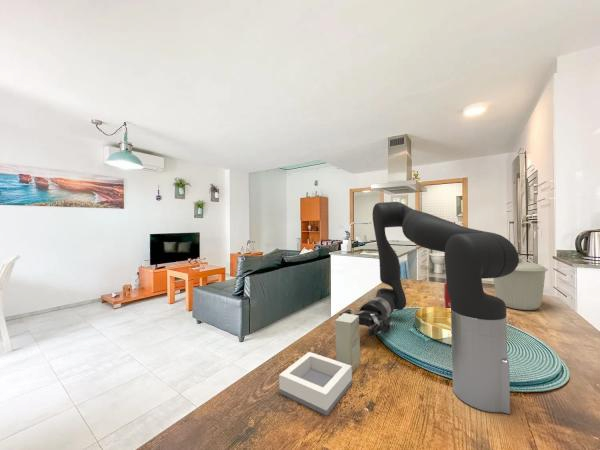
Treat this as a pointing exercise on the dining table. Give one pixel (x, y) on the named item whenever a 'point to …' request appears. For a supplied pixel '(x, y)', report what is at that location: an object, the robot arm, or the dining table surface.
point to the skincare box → (347, 340)
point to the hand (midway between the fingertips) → (355, 329)
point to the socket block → (316, 382)
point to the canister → (522, 286)
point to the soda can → (446, 297)
